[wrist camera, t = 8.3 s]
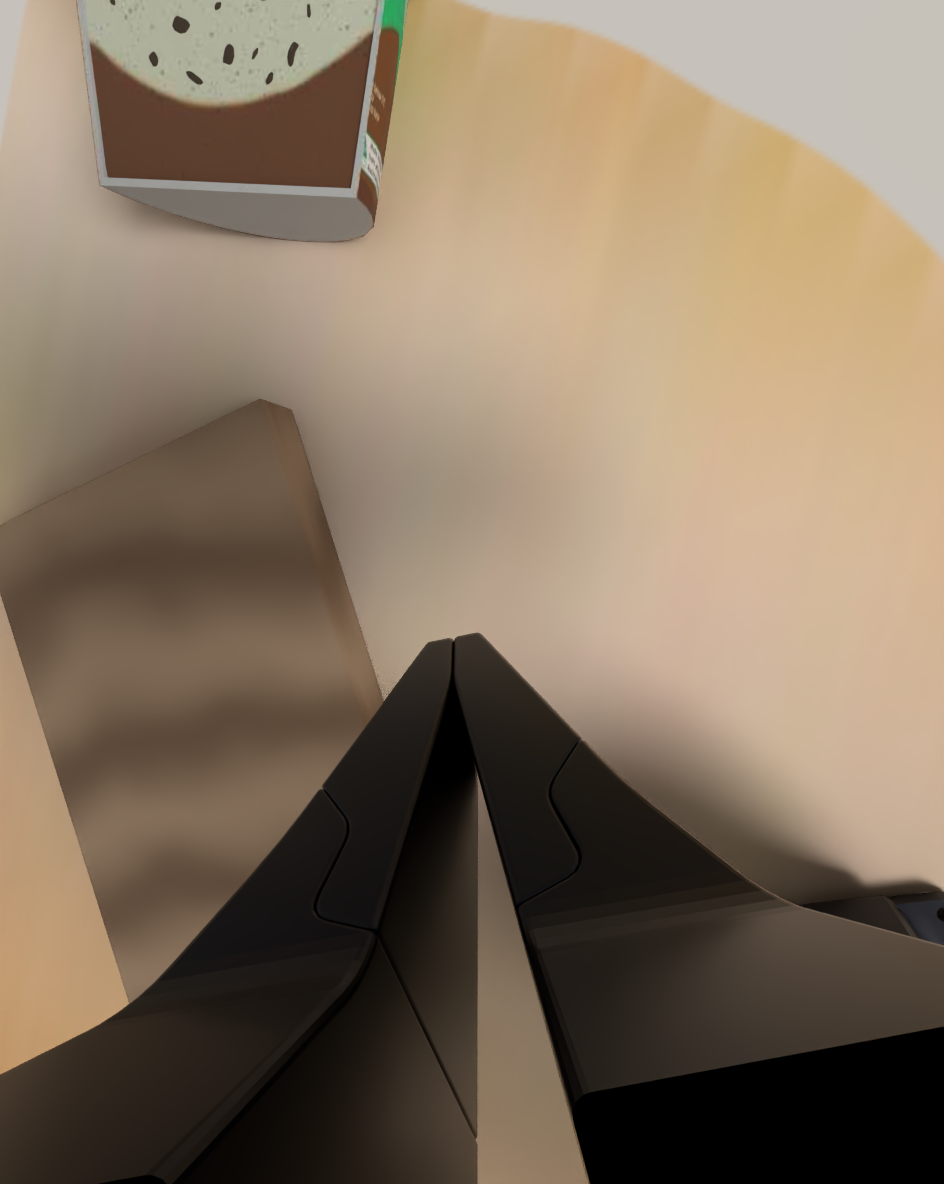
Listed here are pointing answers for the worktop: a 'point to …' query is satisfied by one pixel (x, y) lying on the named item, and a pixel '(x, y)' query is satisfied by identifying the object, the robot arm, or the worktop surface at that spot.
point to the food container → (245, 109)
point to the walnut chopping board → (187, 669)
